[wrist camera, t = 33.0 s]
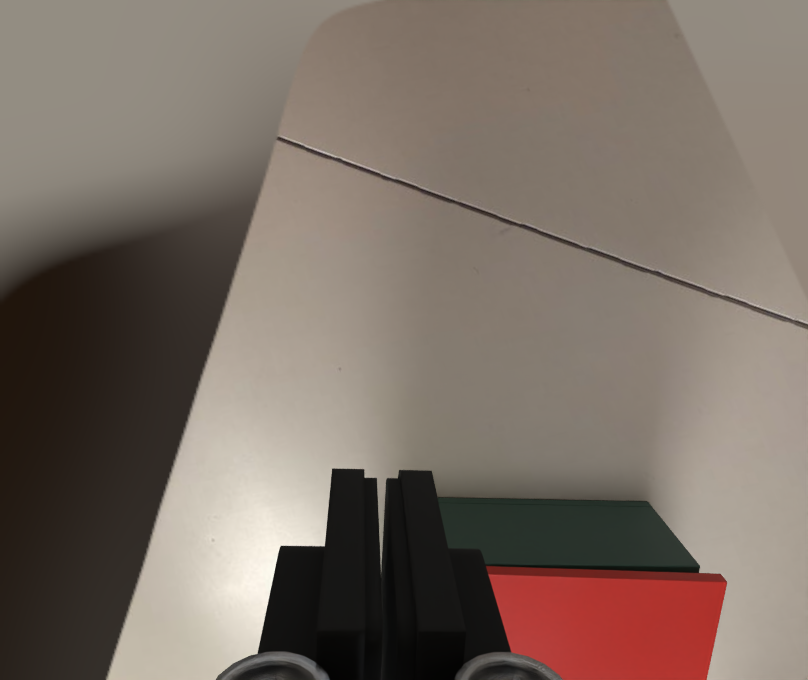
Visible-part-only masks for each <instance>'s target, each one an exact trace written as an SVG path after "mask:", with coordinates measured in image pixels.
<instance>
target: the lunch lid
mask: <svg viewBox="0 0 808 680" xmlns="http://www.w3.org/2000/svg"><path fill="white" fill-rule="evenodd" d="M486 568H487V571H488V575H489V578H490V581H491V585H492V588H493V591H494V595H495V598H496V602H497V605H498V608H499V612H500V615H501V618H502V622H503V625H504V629H505V632H506V635H507V639H508V642H509V645H510V649H511V652H512V653H516V654H521V655H525V656H529V657H531V658H533V659H535V660H537V661H540V662H542V663H544V664H546V665H547V666H548V667H550V668H551V669H552V670H554V671H555V672H556V673H557V674H559V675H560V676H561V678H562V679H563V680H706V679H707V675H708V670H709V665H710V661H711V656H712V651H713V647H714V642H715V637H716V633H717V628H718V623H719V618H720V614H721V609H722V604H723V600H724V595H725V590H726V586H727V581H726V580H725V579H724V577H723V576H722V575H721V574H710V573H680V572H650V571H619V570H589V569H559V568H528V567H498V566H486Z"/></svg>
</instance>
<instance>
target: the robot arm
mask: <svg viewBox="0 0 808 680" xmlns="http://www.w3.org/2000/svg"><path fill="white" fill-rule="evenodd" d="M216 680H563V679H562V678H561V676H560V675H559V674H557V673H556V672H555V671H554V670H552V669H551V668H550V667H548V666H547V665H546V664H544V663H542V662H540V661H537V660H535V659H533V658H531V657H529V656H525V655H521V654H516V653H512V652H511V649H510V645H509V642H508V639H507V635H506V632H505V629H504V625H503V622H502V618H501V615H500V612H499V608H498V605H497V602H496V598H495V595H494V591H493V588H492V585H491V581H490V578H489V575H488V571H487V568H486V564H485V561H484V558H483V555H482V552H481V550H480V549H471V548H448V545H447V540H446V535H445V531H444V526H443V521H442V517H441V512H440V507H439V503H438V498H437V493H436V489H435V484H434V479H433V475H432V471H418V470H399V475H398V479H395V478H387V480H386V494H385V513H384V532H383V552H382V571H381V565H380V542H379V519H378V495H377V478H364V469H332V477H331V488H330V498H329V509H328V520H327V530H326V541H325V546H281V547H280V550H279V553H278V558H277V563H276V568H275V573H274V577H273V582H272V587H271V592H270V597H269V602H268V606H267V611H266V616H265V621H264V626H263V630H262V635H261V640H260V645H259V650H258V654H255V655H251V656H248V657H246V658H244V659H242V660H240V661H238V662H236V663H234V664H232V665H231V666H230V667H228V668H227V669H226V670H225V671H223V672H222V673H221V674H220V675H219V676H218V677H217V679H216Z"/></svg>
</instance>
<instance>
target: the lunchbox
mask: <svg viewBox="0 0 808 680" xmlns="http://www.w3.org/2000/svg"><path fill="white" fill-rule="evenodd" d="M438 503H439V507H440V512H441V517H442V521H443V526H444V531H445V535H446V540H447V545H448V548H471V549H480V550H481V552H482V555H483V558H484V561H485V564H486V566H498V567H528V568H559V569H589V570H619V571H650V572H680V573H699V569H700V566H699V564H698V563H697V562H696V561H695V559H694V558H693V557H692V556H691V554H690V553H689V552H688V551H687V549H686V548H685V547H684V546H683V545H682V543H681V542H680V541H679V540H678V538H677V537H676V536H675V535H674V533H673V532H672V531H671V530H670V528H669V527H668V526H667V525H666V524H665V522H664V521H663V520H662V519H661V517H660V516H659V515H658V514H657V512H656V511H655V510H654V509H653V508H652V506H651V505H650V504H649V503H648V502H643V501H591V500H539V499H487V498H438Z"/></svg>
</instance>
